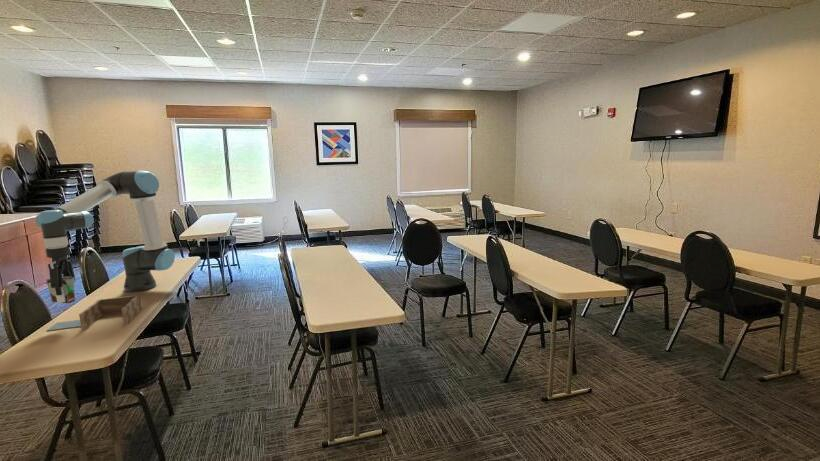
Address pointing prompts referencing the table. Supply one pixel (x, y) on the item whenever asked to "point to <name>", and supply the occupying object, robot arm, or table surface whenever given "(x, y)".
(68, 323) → the pad
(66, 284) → the food container
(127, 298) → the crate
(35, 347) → the table surface
